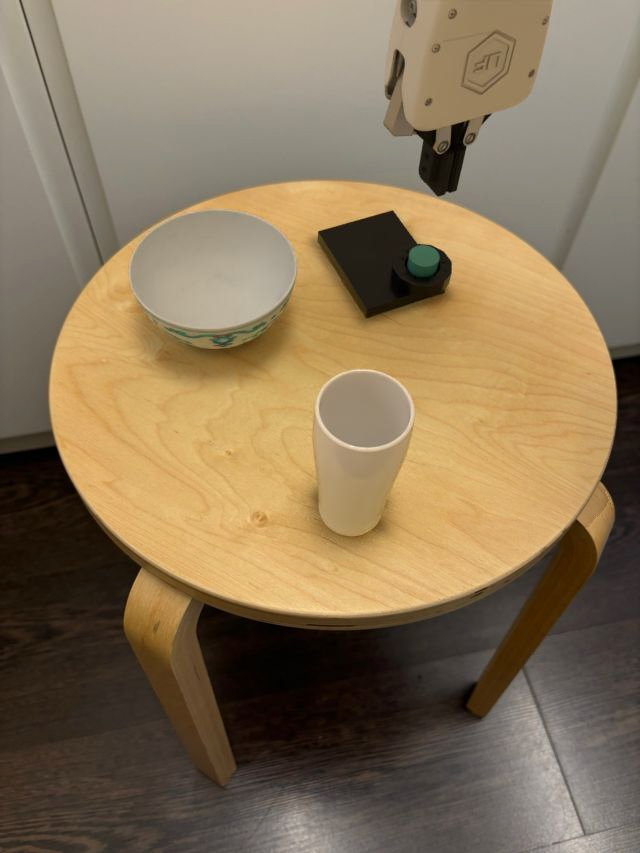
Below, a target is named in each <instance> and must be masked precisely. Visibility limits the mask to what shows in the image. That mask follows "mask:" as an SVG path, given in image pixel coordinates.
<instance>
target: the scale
mask: <svg viewBox="0 0 640 853" xmlns="http://www.w3.org/2000/svg"><path fill="white" fill-rule="evenodd" d="M317 242H318V244H319V245H320V247H321V248H322V250H323V252H324V253H325V255H326V256H327V259H328V260H329V261H330V263H331V265H332V267H333V268H334V270H335V272H336V273H337V275H338V276H339V277H340V279H341V281H342V283H343V284H344V285H345V287H346V289H347V290H348V292H349V293H350V295H351V297H352V298H353V300H354V302H355V303H356V304H357V306H358V308H359V309H360V311H361V313H362V315H363V316H364V317H365V319H369V318H371V317H375V316H378V315H381V314H384V313H387V312H390V311H393V310H397V309H399V308H402V307H406V306H409V305H411V304H412V305H413V304H415V303H419V302H421V301H425V300H427V299H431V298H435V297H438V296H440V295H443V294H445V291H446V288H447V287H448V286H449V284H450V281H451V279H452V273H453V262H452V260H451V259H450V257H449V256H448V254H447V253H446V252H445V251H444V250H442V249H440V248H438V247H436V246H434V245H432V244H425V243H417V241H416V239H415V238H414V237H413V235H412V234H411V233H410V232H409V230H408V229H407V227H406V226H405V225H404V223H403V222H402V220H401V219H400V218H399V216H398V215H397V214H396V212H395V211H394V210H388V211H385V212H381V213H378V214H377V213H376V214H374V215H371V216H368V217H363V218H360V219H357V220H353V221H350V222H349V221H348V222H346V223H342V224H338V225H334V226H332V227H328V228H325V229H320V230H318V231H317ZM419 245H426V246H430V247H432V248H434V249H435V250H436V251H437V252H438V253H439V262H438V267H437V271H436V272H435V274H434V275H432V276H430V277H417V276H415V275H413V274H411V273H410V272H409V270H408V268H407V263H408V258H409V253H410V251H411V249H412V248H414V247H416V246H419Z"/></svg>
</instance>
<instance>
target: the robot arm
mask: <svg viewBox="0 0 640 853" xmlns="http://www.w3.org/2000/svg"><path fill="white" fill-rule="evenodd" d="M553 1H554V0H396V4H395V9H394V13H393V19H392V23H391V29H390V34H389V39H388V40H389V41H388V47H387V54H386V61H385V68H384V69H385V70H384V96H385V98H386V99H387V100H388V101H389V104H388V107H387V110H386V113H385V116H384V119H383V126H384V128H386V130H387V131H388V132H389V133H390V134H391V135H392V136H393V137H413V136H415V135H416V136H418V137H419V138H420V139H421V140H422V146H421V151H420V156H419V157H420V159H419V163H418V175H419V178H420V179H421V180H422V181H423V183H424V184H426V185H427V186H428V188H429V189H430V190H431V191H432V192H433V194H434V195H435V196H436V197H441V196H442V197H443V196H445V195H446V193H448V194H451V193H454V192H457V191H458V188H459V182H460V177H461V174H462V169H463V165H464V161H465V156H466V153H467V152H466V151H467V148H468V147H470V146H471V145H473V144H474V143H475V142H476V140H477V139H478V135H479V133H480V130H481V126H483V125H484V123H485V122H486V121H487V120H488V119H489V118H490V117H491V116H492V115H493V114H494V113H497V112H500V111H504V110H508V109H510V108H513V107H515V106H518V105H519V104H521V103H522V102H524V101H525V100H526V99H528V97H529V96H530V94H531V93H532V90H533V88H534V85H535V82H536V79H537V76H538V72H539V68H540V64H541V60H542V56H543V53H544V52H543V51H544V47H545V43H546V39H547V35H548V30H549V29H548V28H549V24H550V19H551V14H552V7H553Z"/></svg>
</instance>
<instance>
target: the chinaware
mask: <svg viewBox="0 0 640 853" xmlns="http://www.w3.org/2000/svg"><path fill="white" fill-rule="evenodd" d="M127 273H128V275H127V276H128V282H129V286H130V288H131V292H132V294H133V296H134V297H135V300H136V302H137V303H138V305H139V306H140V308H141V309H142V310H143V312H144V313H145V315H146V316H147V317H148V318H149V319H150V320H151V322H153V323H154V324H155V325H156V326H157V327H158V328H159V329H160V330H161V331H163V332H164V333H165V334H167V335H168V336H170V337H171V338H173V339H175V340H177V341H179V342H181V343H184V344H186V345H189V346H192V347H196V348H201V349H210V350H211V349H212V350H218V349H229V348H233V347H239V346H241V345H243V344H246V343H248V342H251V341H252V340H255V339H256V338H258V337H259V336H261V335H262V334H263V333H265V332H266V331H268V329H269V328H271V327H272V325H274V324H275V322H276V321H277V320H278V319H279V318H280V316H281V315H282V313H283V312H284V310H285V308H286V306H287V305H288V303H289V300H290V298H291V296H292V293H293V291H294V287H295V284H296V280H297V275H298V259H297V254H296V252H295V250H294V247H293V245H292V243H291V242H290V240H289V239H288V237H287V236H286V235H285V234H284V233H283V231H281V230H280V229H279V228H278V227H276V226H275V225H274V224H272V223H271V222H269V221H267V220H266V219H264V218H262V217H259V216H257V215H254V214H251V213H248V212H245V211H239V210H233V209H226V208H208V209H199V210H194V211H189V212H185V213H183V214H179V215H176V216H174V217H171V218H169V219H167V220H165V221H162V222H161V223H160V224H158V225H157V226H154V228H153V229H151V230H150V231H149V232H147V233H146V235H145V236H143V237H142V238H141V240H140V241H139V242H138V243H137V245H136V247H135V248H134V250H133V252H132V254H131V257H130V260H129V264H128V272H127Z"/></svg>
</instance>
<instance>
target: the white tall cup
mask: <svg viewBox="0 0 640 853" xmlns="http://www.w3.org/2000/svg"><path fill="white" fill-rule="evenodd" d="M415 407H416V406H415V402H414V400H413V398H412V395H411V394H410V392H409V390H408V389H407V388H406V387H405V386H404V385H403V383H401V382H400V381H399V380H398V379H397V378H395V377H393V376H391V375H389V374H388V373H385V372H383V371H379V370H375V369H370V368H356V369H349V370H346V371H344V372H343V371H342V372H340V373H338V374H336V375H334V376H333V377H331V378H330V379H328V380H327V381H326V382H325V383H324V384H323V386H322V387H321V388H320V389H319V391H318V393H317V396H316V398H315V402H314V411H313V419H312V449H313V459H314V467H315V474H316V484H317V493H318V505H317V506H318V507H317V508H318V512H319V515H320V518H321V520H322V522H323V523H324V525H326V527H327V528H328V529H329V530H331V531H333V532H334V533H336V534H338V535H341V536H344V537H358V536H359V537H360V536H362V535H365V534H367V533H369V532H371V531H372V530H374V528H376V526H377V525H378V524H379V522H380V520H381V518H382V516H383V512H384V508H385V505H386V503H387V500H388V498H389V496H390V494H391V491H392V489H393V487H394V485H395V482H396V481H397V478H398V476H399V473H400V472H401V469H402V466H403V465H404V461H405V460H406V457H407V454H408V451H409V447H410V443H411V439H412V435H413V429H414V425H415V424H414V423H415V418H416V408H415Z"/></svg>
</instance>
